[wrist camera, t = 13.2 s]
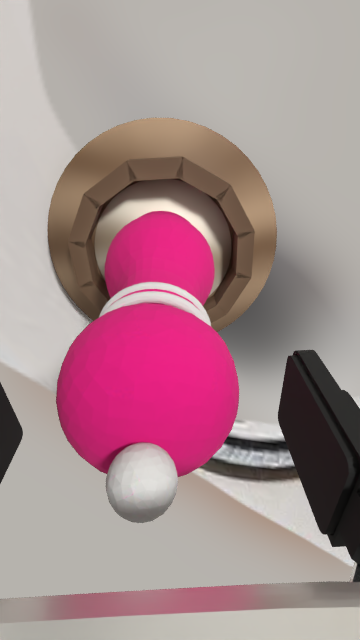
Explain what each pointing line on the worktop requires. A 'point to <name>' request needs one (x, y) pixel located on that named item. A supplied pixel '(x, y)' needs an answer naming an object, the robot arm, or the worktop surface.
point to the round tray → (163, 209)
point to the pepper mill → (150, 368)
